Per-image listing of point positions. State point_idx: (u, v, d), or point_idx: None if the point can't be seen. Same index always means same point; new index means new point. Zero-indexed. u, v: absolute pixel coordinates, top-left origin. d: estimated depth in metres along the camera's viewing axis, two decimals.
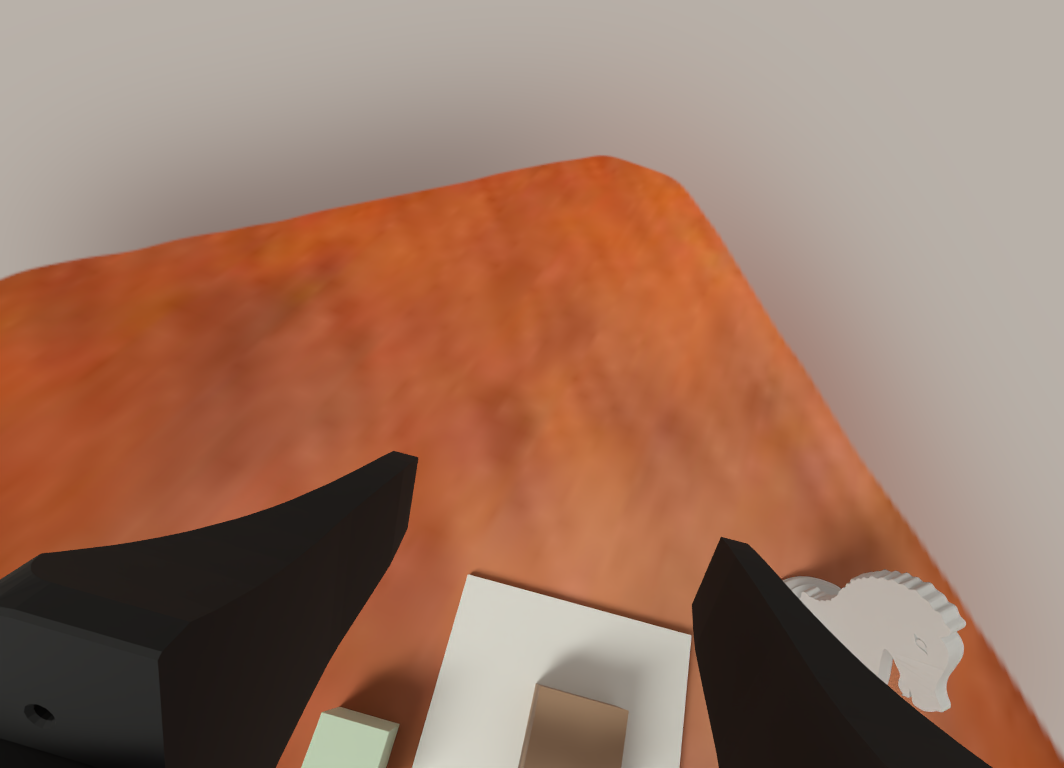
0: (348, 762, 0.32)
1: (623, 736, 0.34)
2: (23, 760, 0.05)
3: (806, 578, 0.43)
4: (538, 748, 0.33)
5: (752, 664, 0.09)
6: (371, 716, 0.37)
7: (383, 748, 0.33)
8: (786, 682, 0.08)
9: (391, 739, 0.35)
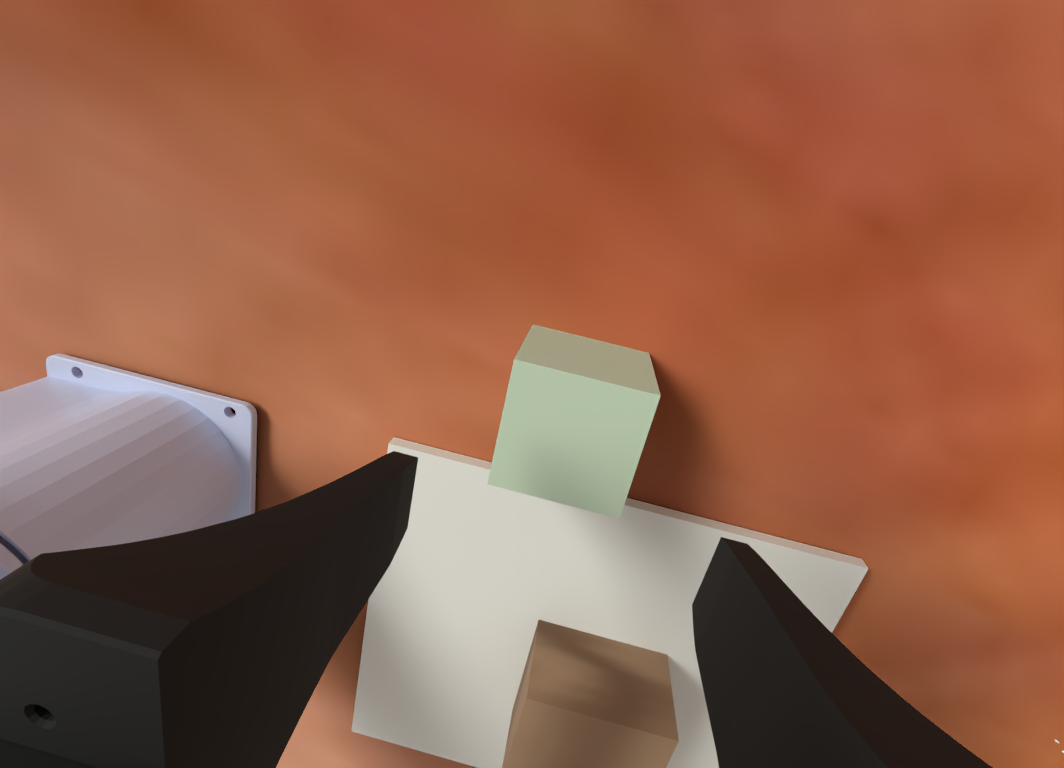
0: (572, 454, 0.17)
1: None
2: (23, 761, 0.05)
3: None
4: (588, 728, 0.20)
5: (752, 664, 0.09)
6: None
7: (592, 509, 0.17)
8: (786, 682, 0.08)
9: None
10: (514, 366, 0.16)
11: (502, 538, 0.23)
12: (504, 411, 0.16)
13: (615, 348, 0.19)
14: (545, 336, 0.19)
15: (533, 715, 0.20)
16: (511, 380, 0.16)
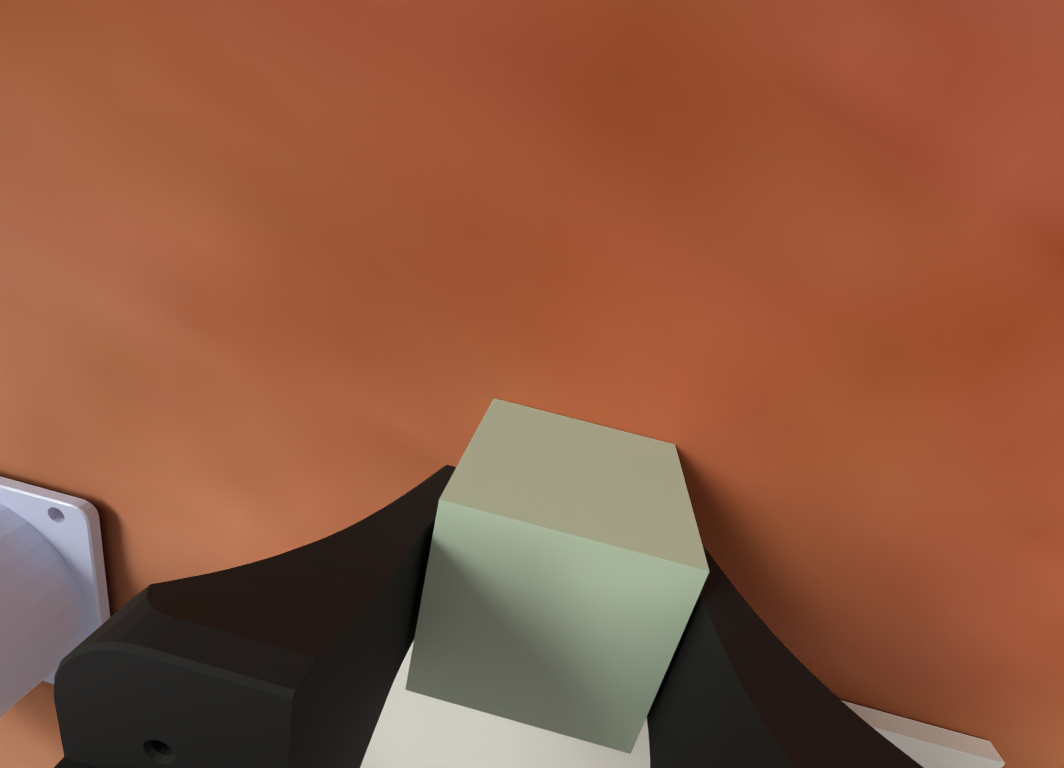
0: (548, 655, 0.09)
1: None
2: None
3: None
4: None
5: (680, 644, 0.09)
6: None
7: (584, 736, 0.10)
8: (704, 659, 0.08)
9: None
10: (440, 511, 0.09)
11: None
12: (427, 582, 0.09)
13: (622, 442, 0.12)
14: (509, 426, 0.12)
15: None
16: (436, 534, 0.09)
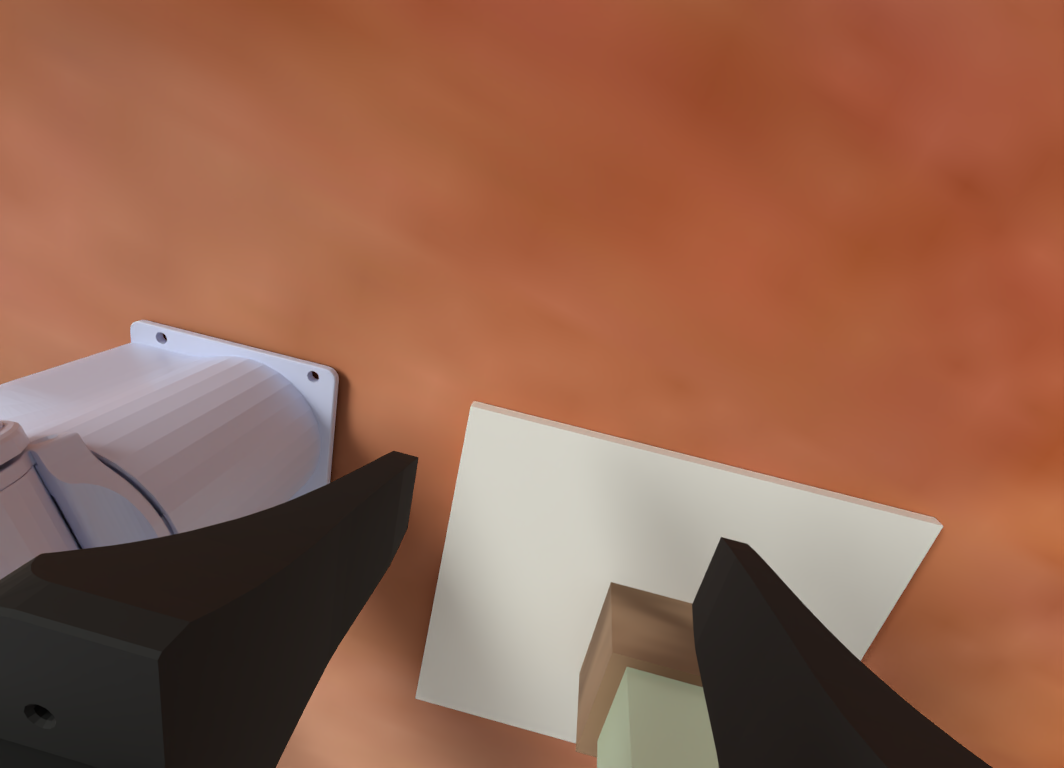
0: None
1: None
2: (23, 761, 0.05)
3: None
4: None
5: (752, 664, 0.09)
6: None
7: None
8: (786, 682, 0.08)
9: None
10: None
11: (579, 500, 0.23)
12: None
13: None
14: (644, 699, 0.20)
15: (618, 669, 0.21)
16: None
